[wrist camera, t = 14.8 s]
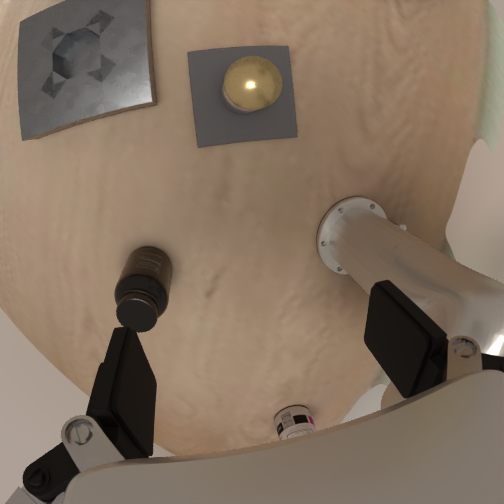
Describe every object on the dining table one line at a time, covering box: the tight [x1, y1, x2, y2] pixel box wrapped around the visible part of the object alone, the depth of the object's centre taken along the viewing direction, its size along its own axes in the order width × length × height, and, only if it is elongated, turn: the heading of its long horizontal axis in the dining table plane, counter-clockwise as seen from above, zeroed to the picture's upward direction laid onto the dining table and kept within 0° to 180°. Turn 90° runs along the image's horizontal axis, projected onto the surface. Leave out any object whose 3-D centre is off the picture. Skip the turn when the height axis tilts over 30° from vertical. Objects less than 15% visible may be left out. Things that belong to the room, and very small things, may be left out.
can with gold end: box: [221, 56, 282, 114], centre depth 30 cm, size 6×6×8 cm
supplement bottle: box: [115, 247, 172, 333], centre depth 36 cm, size 7×7×12 cm
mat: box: [188, 46, 298, 148], centre depth 34 cm, size 13×13×1 cm
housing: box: [18, 0, 157, 141], centre depth 26 cm, size 18×18×4 cm
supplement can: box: [275, 406, 317, 440], centre depth 54 cm, size 8×8×15 cm
